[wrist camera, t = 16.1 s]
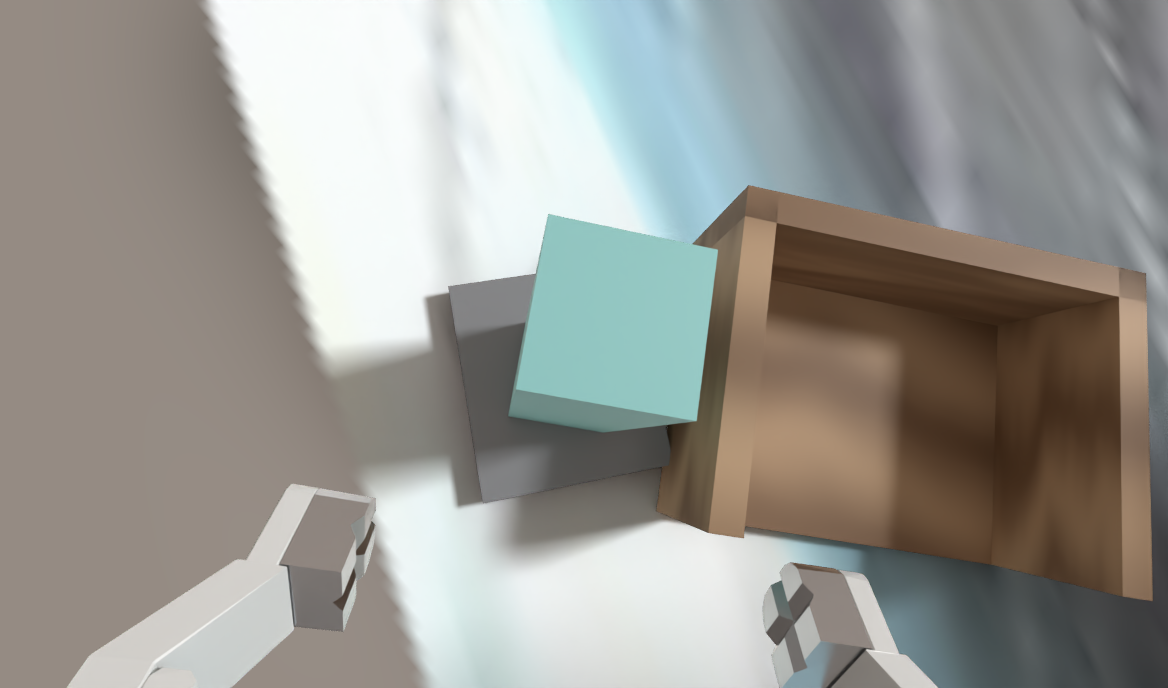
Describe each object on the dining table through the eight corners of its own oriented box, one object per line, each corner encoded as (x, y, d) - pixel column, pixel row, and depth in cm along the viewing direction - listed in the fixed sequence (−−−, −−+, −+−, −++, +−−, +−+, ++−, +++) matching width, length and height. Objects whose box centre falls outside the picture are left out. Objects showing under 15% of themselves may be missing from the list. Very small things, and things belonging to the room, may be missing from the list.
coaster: (626, 266, 27) (631, 260, 26) (666, 463, 26) (673, 464, 25) (450, 292, 26) (448, 286, 25) (483, 501, 25) (482, 503, 24)
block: (603, 432, 25) (696, 421, 13) (508, 416, 24) (515, 389, 13) (617, 339, 25) (718, 250, 14) (525, 322, 25) (548, 213, 13)
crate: (1000, 564, 27) (1152, 601, 21) (656, 511, 25) (708, 532, 19) (1006, 310, 30) (1145, 273, 23) (691, 244, 28) (748, 185, 21)
